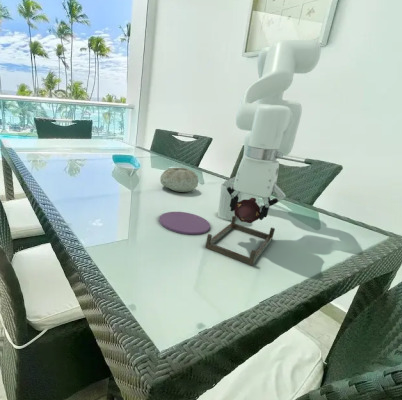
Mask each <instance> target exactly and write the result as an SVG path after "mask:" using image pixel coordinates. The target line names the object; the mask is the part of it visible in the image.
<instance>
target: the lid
mask: <svg viewBox="0 0 402 400" xmlns="http://www.w3.org/2000/svg"><path fill="white" fill-rule="evenodd" d="M158 221H159V224H160V225H161V226H162V227H163V228H165V229H166V230H168V231H171V232H174V233H177V234H182V235H190V236H191V235H192V236H193V235H194V236H195V235H203V234H206V233H207V232H209V231H210V229H211V224H210V222H209V221H208V220H207V219H205V218H204V217H202V216H200V215H197V214H195V213H191V212H184V211H168V212H165V213H162V214H161V215H160V216H159V218H158Z"/></svg>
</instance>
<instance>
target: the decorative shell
mask: <svg viewBox="0 0 402 400" xmlns="http://www.w3.org/2000/svg"><path fill="white" fill-rule="evenodd" d="M159 179H160V184H161V185H162V186H164V187H165V188H167V189H170V190H171V191H175V192H180V193H189V192H191V191H193V190H195V189H196V188H197V187H198V185H199V176H198V175H197V174H196V172H195V171H193V170H191V169H189V168H186V167H169V168H168V169H166V170H164V171H163V172H162V173H161V176H160V178H159Z"/></svg>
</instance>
